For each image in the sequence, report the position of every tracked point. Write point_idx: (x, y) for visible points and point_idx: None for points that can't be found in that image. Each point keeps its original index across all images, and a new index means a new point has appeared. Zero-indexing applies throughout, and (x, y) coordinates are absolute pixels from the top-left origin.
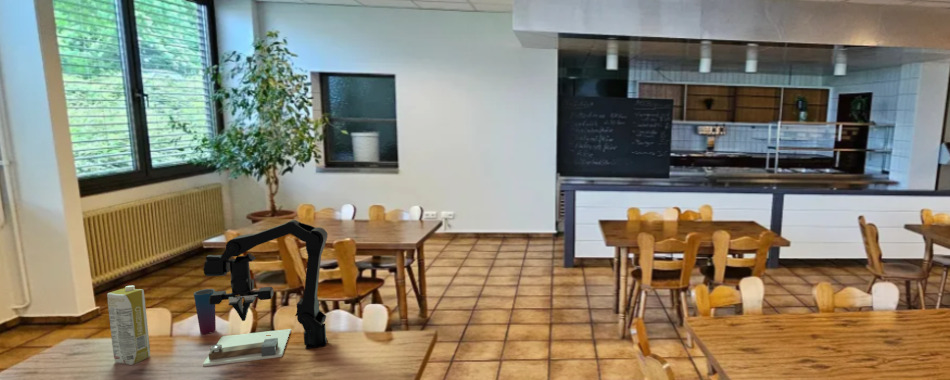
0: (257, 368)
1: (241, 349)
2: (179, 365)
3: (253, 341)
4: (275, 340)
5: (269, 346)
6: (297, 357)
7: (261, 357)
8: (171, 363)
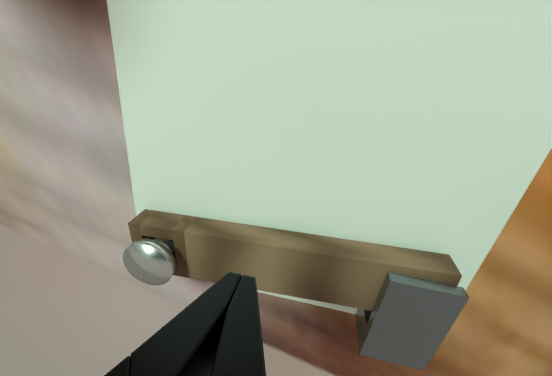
0: (334, 355)
1: (269, 291)
2: (59, 211)
3: (323, 117)
4: (445, 321)
5: (399, 364)
6: (492, 354)
7: (353, 311)
8: (17, 178)
